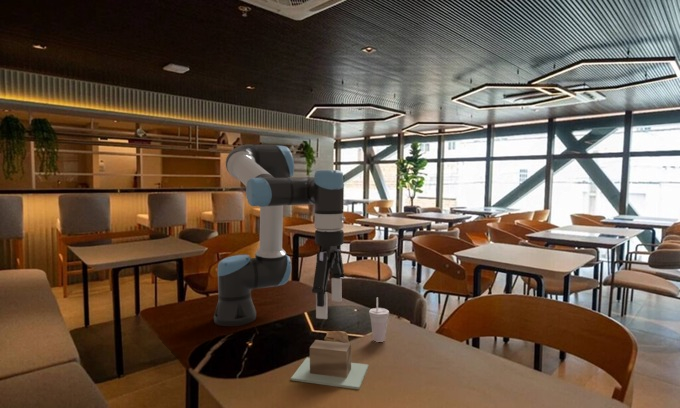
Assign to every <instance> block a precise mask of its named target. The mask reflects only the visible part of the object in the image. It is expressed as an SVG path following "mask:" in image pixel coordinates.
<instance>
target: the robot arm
mask: <svg viewBox="0 0 680 408" xmlns="http://www.w3.org/2000/svg"><path fill="white" fill-rule="evenodd" d="M225 168H226V171H227V173H229V175H230V176H231V177H232V178H234V179H236V180H239V181H240V182H241V183H242V185H244V186H245V196H246V199H247V203H248V204H249V205H250V206H251V207H259V247H258V249H257V250H256V251H255V254H254V255H255V256H254V257H253V258H252V257H250V255H249V254H236V255H232V256H228V257H225V258H223V259H221V260H220V261H219V262H218V264H217V289H218V291H217V292H218V294H217V295H218V301H217V304H216V308H215V311H214V315H213V322H214V323H215V325H217V326H220V327H239V326H245V325H247V324H251V323H252V322H255V320H256V319H257V310H256V308H255V305H254V303H253V299H252V290H259V289H265V288H273V287H274V288H276V287H279V286H284V285H286V284H287V283H288V282H289V280H290V277H291V273H292V264H291V258H290V256H289V255H287V252H286V250H284V248H283V235H284V232H283V229H284V226H283V225H284V206H302V205H303V206H305V205H313V206H314V228H315V231H314V244H315V245H316V246H319V247H321V249H320V250H321V251H316V252H317V253H316V262H315V270H314V279H313V285H312V289H311V292H312V293H313V294H315V319H319V320H327V319H328V292H326V291H327V288H328V287H327V286H328V283H329V277H330V272H331V275H332V277H331V302H339V303H341V302H342V300H343V297H342V292H343V289H342V288H343V287H342V285H343V284H342V283H343V282H342V281H343V280H342V278H345V276H346V274H345V273H344V266H343V265H344V263H343V258H342V251H341V250H342V249H341V247H342V245H344V243H345V242H344V238H345V237H344V235H345V234H344V233H345V231H344V230H343V228H344V222H345V221H346V220H347V219H346V217H345V216H344V201H345V200H344V199H345V198H344V197H345V194H344V193H345V188H344V187H345V183H344V173H343V172H342V171H341V170H339V169H329V170H326V169H324V170H322V169H318V170H315V172H314V177H313V176H311V177H307V176H306V177H293V176H294V172H295V162H294V157H293V154H292V152H291V150H290V148H288V146H286V145H285V146H284V145H278V144H274V145H273V144H243V145H239V146H236V147H235V148H233V149H232V150H231V151H230V152H229V153H227V156H226V159H225Z"/></svg>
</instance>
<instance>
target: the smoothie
mask: <svg viewBox="0 0 680 408" xmlns="http://www.w3.org/2000/svg"><path fill="white" fill-rule="evenodd" d="M375 298H376V299H375V300H376V304H375V305H376V307H375V308H374V307H373V308H371V309H369V311H368V315H369V317H370V323H371V324H370V325H371V334H372V341H373V340H374V341H376V342H383V341H385V342H386V336H387V328H388V327H387V326H388V317H389V315H390V311H389V310H388V309H387V308H383V307H379V297H375ZM374 341H373V342H374ZM376 342H375V343H376ZM383 343H384V342H383Z"/></svg>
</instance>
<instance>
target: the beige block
mask: <svg viewBox="0 0 680 408" xmlns="http://www.w3.org/2000/svg"><path fill="white" fill-rule="evenodd" d="M309 358H310V373H311V374H319V375H327V376H335V377H343V378H347V376H348V374H349V372H350V370H351V363H352V343H350V342H349V343H341V342H331V341H326V340H319V339H315V340H314V342H312V344H311V345H310V346H309Z"/></svg>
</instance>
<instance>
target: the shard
mask: <svg viewBox="0 0 680 408" xmlns="http://www.w3.org/2000/svg"><path fill="white" fill-rule="evenodd" d="M324 341H331V342H341V343H350V342H349V335H348V334H347V332H346V331H341V330H333V331H332V330H331V331H328V330H327V331H326V335H325V336H324Z"/></svg>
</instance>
